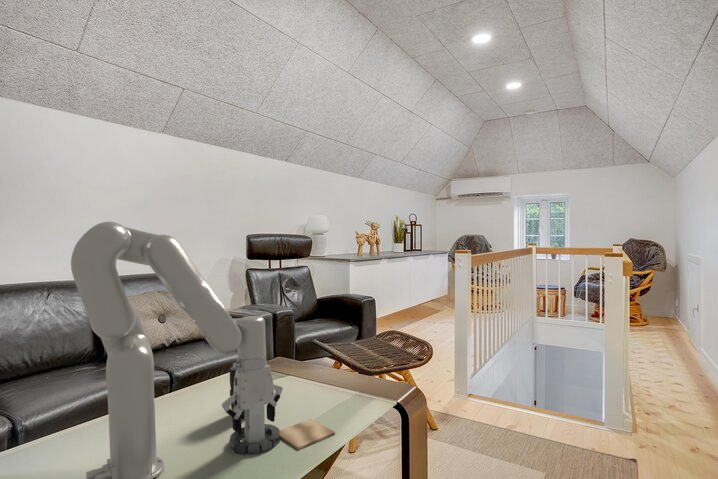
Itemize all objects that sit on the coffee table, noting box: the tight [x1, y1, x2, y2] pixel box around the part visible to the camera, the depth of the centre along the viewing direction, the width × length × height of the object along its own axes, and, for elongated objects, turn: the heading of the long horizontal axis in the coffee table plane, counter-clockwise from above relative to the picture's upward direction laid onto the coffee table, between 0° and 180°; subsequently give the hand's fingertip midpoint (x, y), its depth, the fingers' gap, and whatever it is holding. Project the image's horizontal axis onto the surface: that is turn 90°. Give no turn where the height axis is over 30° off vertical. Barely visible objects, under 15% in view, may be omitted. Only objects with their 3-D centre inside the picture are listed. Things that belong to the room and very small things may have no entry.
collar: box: [228, 423, 281, 456], centre depth 110 cm, size 13×13×2 cm
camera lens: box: [229, 366, 245, 420], centre depth 128 cm, size 8×8×15 cm
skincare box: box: [244, 399, 266, 443], centre depth 110 cm, size 6×4×12 cm
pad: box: [279, 418, 336, 451], centre depth 114 cm, size 12×12×1 cm
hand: (254, 425), depth 110 cm, fingers open, 9 cm apart
